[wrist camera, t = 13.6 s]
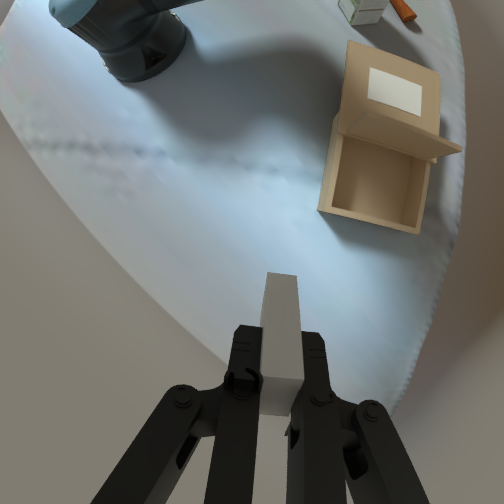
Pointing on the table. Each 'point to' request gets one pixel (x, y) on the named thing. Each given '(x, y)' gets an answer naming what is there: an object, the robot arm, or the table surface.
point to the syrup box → (362, 10)
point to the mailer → (373, 183)
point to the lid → (392, 104)
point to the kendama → (403, 10)
